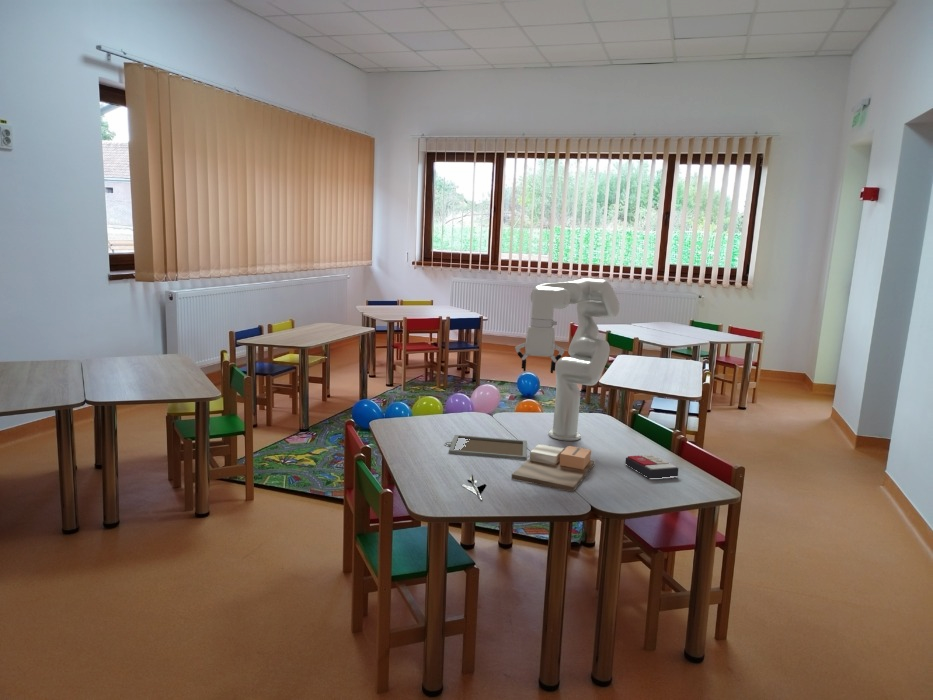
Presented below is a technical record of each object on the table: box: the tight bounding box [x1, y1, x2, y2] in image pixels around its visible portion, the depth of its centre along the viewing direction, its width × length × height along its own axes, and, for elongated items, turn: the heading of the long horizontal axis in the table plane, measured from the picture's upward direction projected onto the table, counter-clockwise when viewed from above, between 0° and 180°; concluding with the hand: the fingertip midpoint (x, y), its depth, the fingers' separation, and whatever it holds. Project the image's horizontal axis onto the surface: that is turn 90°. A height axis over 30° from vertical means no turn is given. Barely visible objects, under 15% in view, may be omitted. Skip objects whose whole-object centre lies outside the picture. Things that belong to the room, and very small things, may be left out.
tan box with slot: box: [560, 445, 592, 470], centre depth 212 cm, size 10×8×4 cm
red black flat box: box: [624, 454, 679, 479], centre depth 214 cm, size 11×4×15 cm
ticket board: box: [511, 443, 595, 492], centre depth 208 cm, size 28×20×4 cm
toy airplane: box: [461, 474, 487, 502], centre depth 191 cm, size 8×21×2 cm, turn 10°
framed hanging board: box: [444, 434, 528, 461], centre depth 229 cm, size 19×2×30 cm
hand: (537, 371), depth 222 cm, fingers open, 9 cm apart
